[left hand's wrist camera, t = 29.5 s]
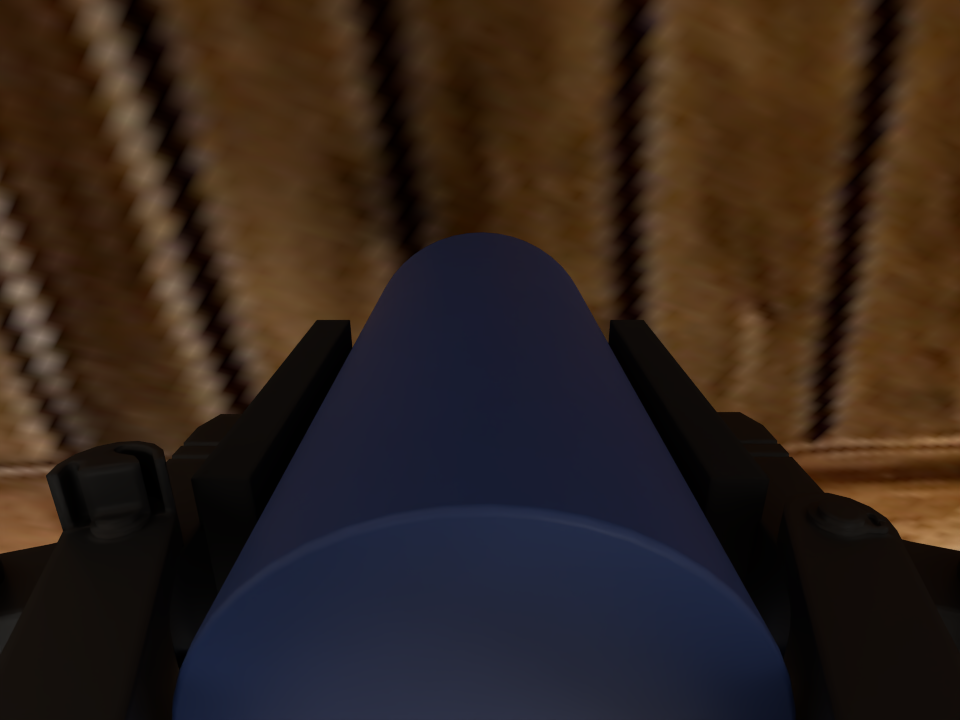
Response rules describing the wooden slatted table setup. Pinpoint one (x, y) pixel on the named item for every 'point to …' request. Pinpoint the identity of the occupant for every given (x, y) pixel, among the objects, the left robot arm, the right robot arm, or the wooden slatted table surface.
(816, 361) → the wooden slatted table surface
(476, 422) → the canister
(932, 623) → the left robot arm
